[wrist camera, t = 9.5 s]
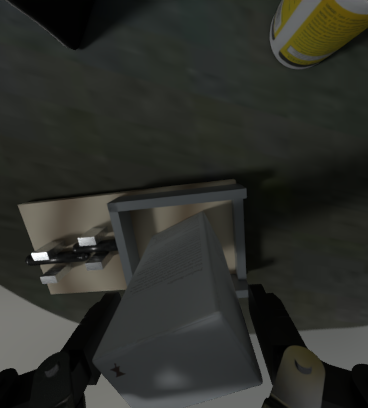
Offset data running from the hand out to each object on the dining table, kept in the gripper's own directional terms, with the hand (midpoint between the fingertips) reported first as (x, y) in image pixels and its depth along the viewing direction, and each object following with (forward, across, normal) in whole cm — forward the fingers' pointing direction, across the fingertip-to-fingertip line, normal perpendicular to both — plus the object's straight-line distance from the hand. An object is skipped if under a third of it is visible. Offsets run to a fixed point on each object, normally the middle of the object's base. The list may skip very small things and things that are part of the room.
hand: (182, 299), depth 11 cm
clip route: (+8, +12, 0) cm, 14 cm away
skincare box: (+8, 0, 0) cm, 8 cm away
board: (+9, +6, 0) cm, 11 cm away
